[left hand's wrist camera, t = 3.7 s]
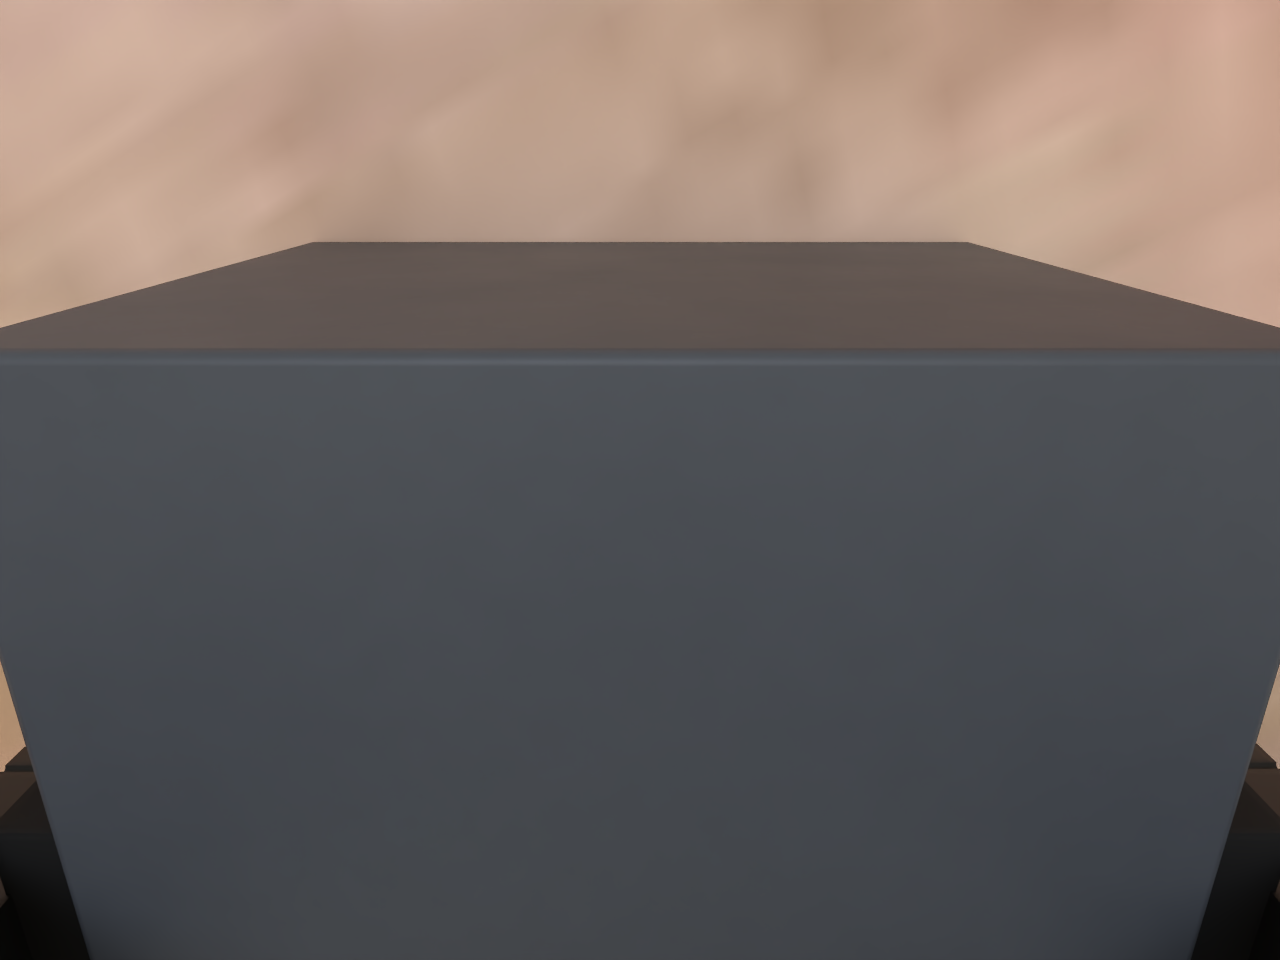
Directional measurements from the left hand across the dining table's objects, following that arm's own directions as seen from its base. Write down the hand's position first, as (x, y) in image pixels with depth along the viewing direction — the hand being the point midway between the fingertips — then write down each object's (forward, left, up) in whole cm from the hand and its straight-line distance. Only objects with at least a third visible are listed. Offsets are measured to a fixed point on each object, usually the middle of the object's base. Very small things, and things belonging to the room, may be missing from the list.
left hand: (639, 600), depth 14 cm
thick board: (-25, +11, 0) cm, 28 cm away
